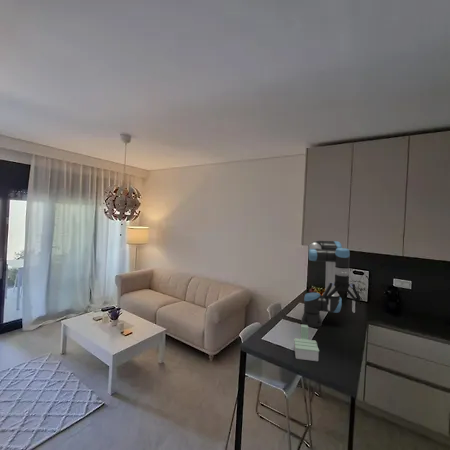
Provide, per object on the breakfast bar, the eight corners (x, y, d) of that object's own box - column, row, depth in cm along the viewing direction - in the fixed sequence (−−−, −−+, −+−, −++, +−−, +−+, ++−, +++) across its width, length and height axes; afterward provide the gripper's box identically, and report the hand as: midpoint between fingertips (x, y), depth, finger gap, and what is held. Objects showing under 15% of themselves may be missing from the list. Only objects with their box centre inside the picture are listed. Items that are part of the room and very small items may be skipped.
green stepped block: (293, 336, 160) (293, 323, 160) (314, 338, 157) (314, 325, 157) (295, 349, 142) (295, 335, 142) (319, 352, 140) (319, 338, 140)
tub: (294, 349, 154) (294, 339, 154) (315, 352, 152) (315, 342, 152) (295, 359, 143) (296, 349, 143) (318, 362, 140) (318, 351, 140)
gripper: (320, 274, 146) (319, 311, 146) (367, 277, 142) (366, 315, 142) (318, 272, 154) (317, 307, 154) (362, 274, 149) (361, 310, 149)
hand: (341, 311), depth 148 cm, fingers open, 13 cm apart
